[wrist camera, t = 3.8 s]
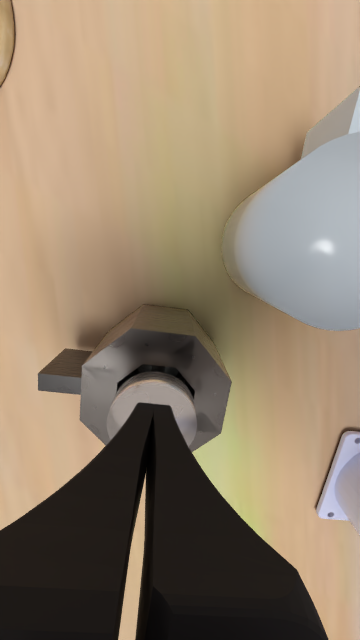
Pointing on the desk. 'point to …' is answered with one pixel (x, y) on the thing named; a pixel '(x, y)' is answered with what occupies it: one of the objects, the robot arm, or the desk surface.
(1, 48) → the hand bell
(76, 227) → the desk surface
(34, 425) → the desk surface
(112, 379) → the grey octagonal pot
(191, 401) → the grey flared round piece
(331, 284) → the white dome with tab
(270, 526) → the desk surface
